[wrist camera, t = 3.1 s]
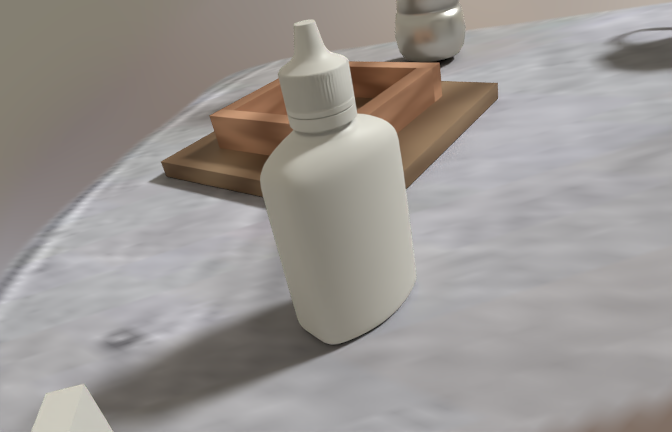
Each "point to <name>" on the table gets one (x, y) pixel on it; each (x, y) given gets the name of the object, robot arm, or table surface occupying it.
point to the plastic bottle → (429, 29)
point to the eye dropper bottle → (337, 200)
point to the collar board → (371, 99)
